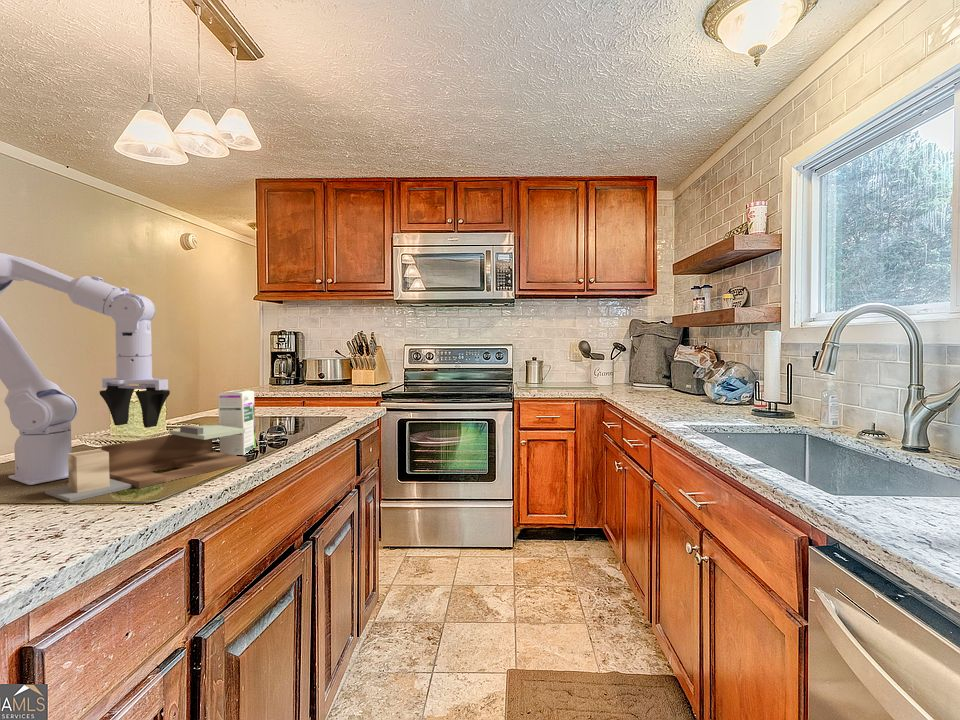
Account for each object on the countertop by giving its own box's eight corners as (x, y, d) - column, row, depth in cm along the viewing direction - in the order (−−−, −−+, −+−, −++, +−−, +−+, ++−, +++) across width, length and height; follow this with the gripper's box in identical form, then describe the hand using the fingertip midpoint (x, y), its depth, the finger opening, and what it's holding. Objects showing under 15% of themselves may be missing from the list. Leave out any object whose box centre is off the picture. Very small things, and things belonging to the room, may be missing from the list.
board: (102, 478, 93) (101, 446, 93) (209, 455, 112) (208, 429, 111) (139, 488, 87) (138, 454, 87) (246, 463, 105) (245, 434, 105)
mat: (44, 493, 84) (44, 490, 84) (105, 480, 92) (105, 477, 92) (69, 502, 79) (69, 498, 79) (131, 487, 87) (131, 484, 87)
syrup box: (244, 456, 112) (243, 392, 111) (218, 455, 112) (217, 392, 111) (256, 450, 117) (255, 389, 117) (231, 450, 117) (230, 389, 117)
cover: (169, 434, 104) (169, 424, 104) (210, 427, 112) (210, 418, 111) (204, 439, 98) (204, 429, 98) (245, 432, 106) (244, 423, 106)
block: (68, 487, 85) (67, 453, 85) (100, 482, 89) (99, 448, 88) (77, 492, 82) (76, 457, 82) (109, 486, 86) (108, 452, 86)
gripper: (85, 356, 94) (87, 427, 94) (143, 357, 90) (144, 431, 90) (121, 355, 101) (123, 421, 101) (177, 356, 97) (178, 425, 97)
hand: (135, 425), depth 96 cm, fingers open, 7 cm apart
